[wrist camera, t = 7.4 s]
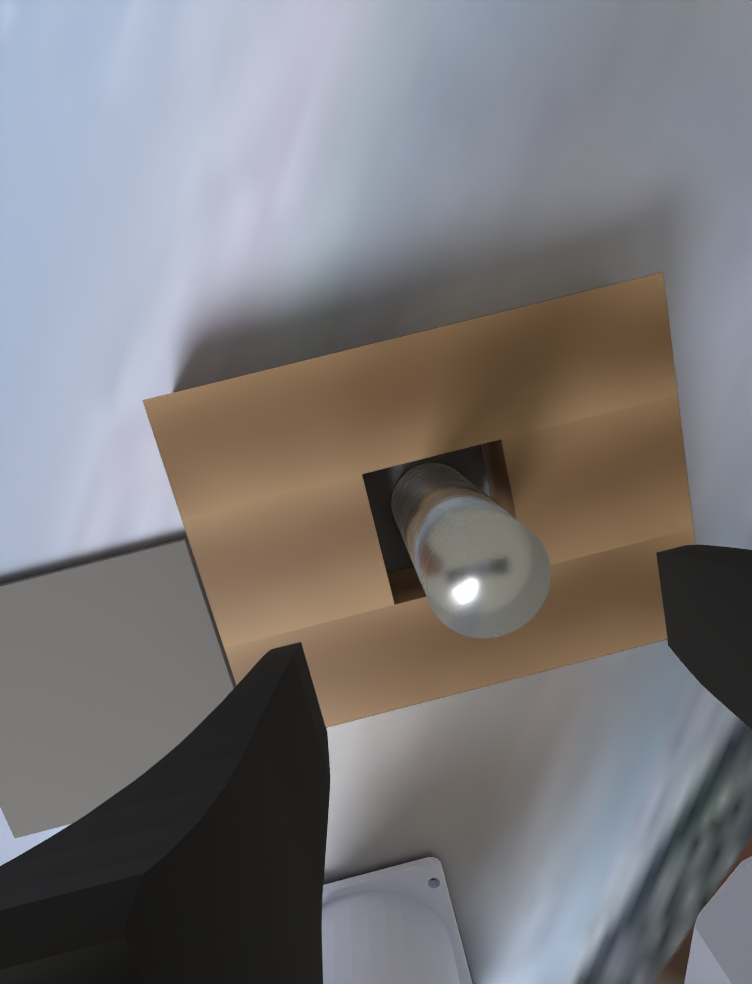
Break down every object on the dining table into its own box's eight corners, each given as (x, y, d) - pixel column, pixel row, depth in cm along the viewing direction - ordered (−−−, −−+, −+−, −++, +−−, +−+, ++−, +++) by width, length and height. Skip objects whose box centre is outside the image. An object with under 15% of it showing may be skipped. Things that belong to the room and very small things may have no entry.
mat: (263, 767, 23) (261, 774, 22) (20, 830, 23) (14, 838, 22) (187, 537, 21) (184, 540, 20) (-83, 604, 21) (-91, 609, 20)
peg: (475, 534, 21) (555, 627, 14) (397, 547, 21) (433, 647, 14) (466, 457, 21) (546, 508, 13) (386, 469, 21) (417, 528, 13)
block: (657, 596, 23) (705, 629, 20) (266, 696, 22) (256, 745, 19) (614, 286, 20) (662, 271, 17) (171, 395, 20) (142, 400, 17)
